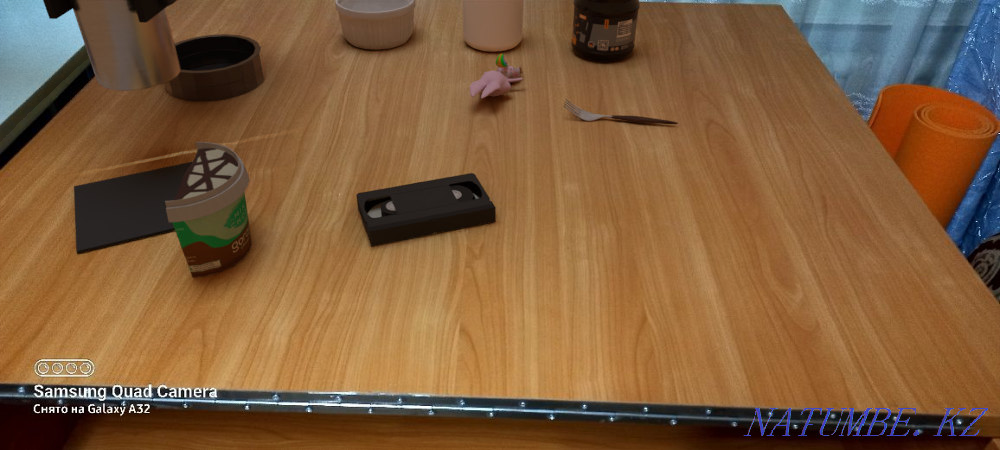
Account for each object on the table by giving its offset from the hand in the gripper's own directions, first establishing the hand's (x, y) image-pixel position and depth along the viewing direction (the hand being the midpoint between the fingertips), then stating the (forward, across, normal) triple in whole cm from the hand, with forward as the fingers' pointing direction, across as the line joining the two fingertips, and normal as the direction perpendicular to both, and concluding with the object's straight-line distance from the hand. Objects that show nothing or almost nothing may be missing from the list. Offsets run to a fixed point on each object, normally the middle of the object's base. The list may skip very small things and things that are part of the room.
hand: (93, 7), depth 76 cm
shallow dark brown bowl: (-29, +3, -22) cm, 36 cm away
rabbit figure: (-29, -39, -22) cm, 54 cm away
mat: (+4, -1, -22) cm, 22 cm away
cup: (-49, -37, -22) cm, 65 cm away
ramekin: (-49, -17, -22) cm, 56 cm away
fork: (-23, -57, -22) cm, 65 cm away
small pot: (-5, 0, -9) cm, 10 cm away
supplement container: (-47, -56, -22) cm, 76 cm away
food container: (+11, -14, -22) cm, 29 cm away
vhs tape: (+3, -34, -22) cm, 41 cm away
